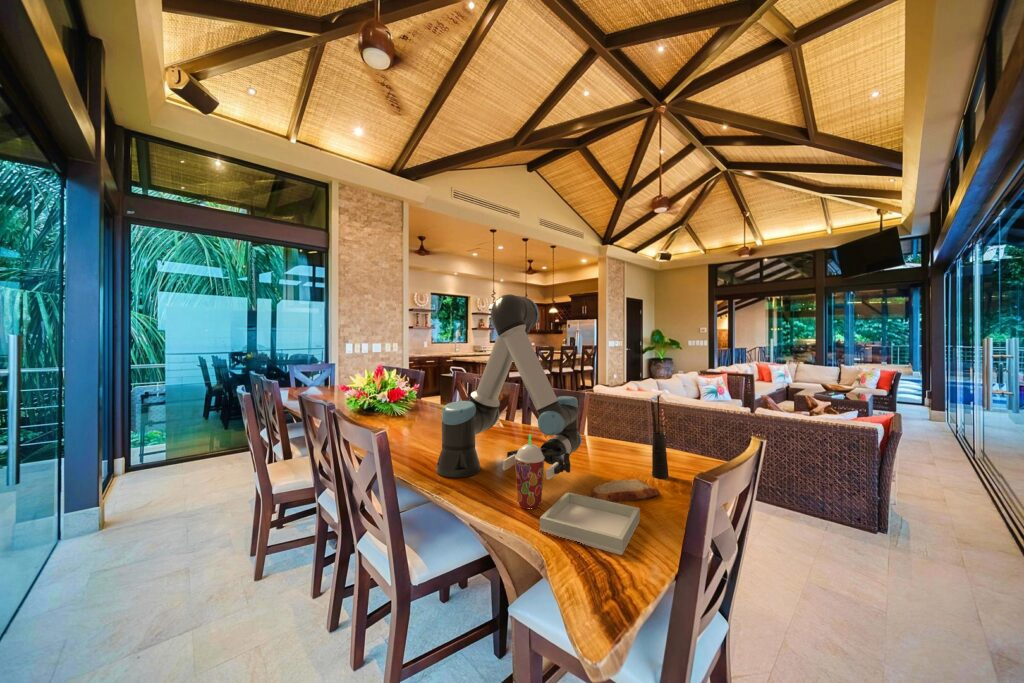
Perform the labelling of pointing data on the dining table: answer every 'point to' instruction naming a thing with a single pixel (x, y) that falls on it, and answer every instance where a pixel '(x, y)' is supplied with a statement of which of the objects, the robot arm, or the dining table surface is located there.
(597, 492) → the slice of bread
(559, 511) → the tray
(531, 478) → the smoothie
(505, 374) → the robot arm
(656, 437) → the black vase with stems
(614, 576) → the dining table surface
